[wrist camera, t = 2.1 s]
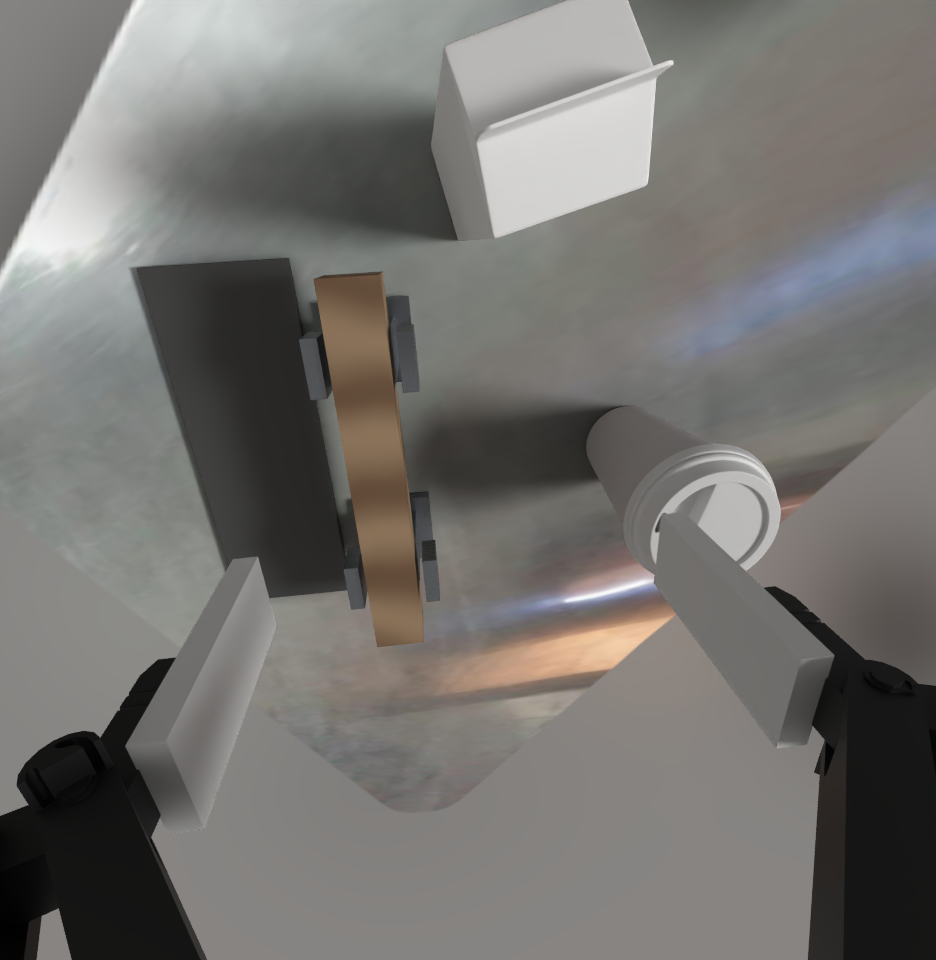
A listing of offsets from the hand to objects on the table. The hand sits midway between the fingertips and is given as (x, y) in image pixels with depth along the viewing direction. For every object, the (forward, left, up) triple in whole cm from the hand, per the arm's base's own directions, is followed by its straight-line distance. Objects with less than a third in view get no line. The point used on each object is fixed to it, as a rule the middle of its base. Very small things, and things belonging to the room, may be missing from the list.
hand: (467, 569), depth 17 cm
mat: (+5, -15, -26) cm, 30 cm away
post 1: (-3, -5, -26) cm, 26 cm away
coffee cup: (+7, +15, -26) cm, 31 cm away
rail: (+5, -5, -20) cm, 21 cm away
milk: (-13, +4, -26) cm, 30 cm away
